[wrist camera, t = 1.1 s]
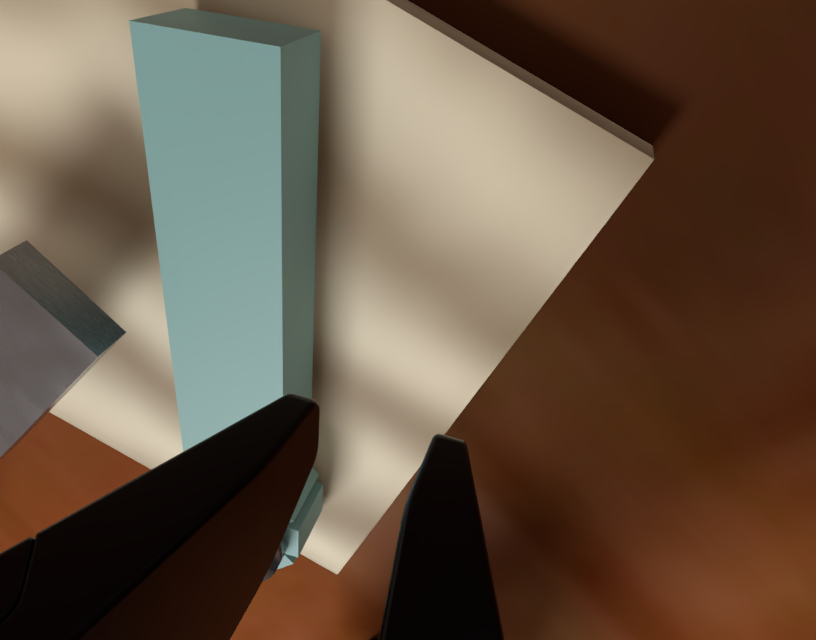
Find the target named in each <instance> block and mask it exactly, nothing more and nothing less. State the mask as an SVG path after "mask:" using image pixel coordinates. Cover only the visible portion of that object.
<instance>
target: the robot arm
mask: <svg viewBox="0 0 816 640" xmlns="http://www.w3.org/2000/svg"><path fill="white" fill-rule="evenodd" d="M319 418H320V408H319V404H318V402H317V401H316V400H314V399H311V398H307V397H303V396H300V395H296V394H287V395H284V396H282V397H280V398H279V399H277V400H275V401H273V402H272V403H270V404H268V405H266V406H264V407H263V408H261V409H259V410H257V411H255V412H254V413H252V414H250V415H248V416H246V417H245V418H243V419H241V420H239V421H237V422H236V423H234V424H232V425H230V426H228V427H227V428H225V429H223V430H221V431H219V432H218V433H216V434H214V435H212V436H211V437H209V438H207V439H205V440H203V441H202V442H200V443H198V444H196V445H194V446H193V447H191V448H189V449H187V450H185V451H184V452H182V453H180V454H178V455H176V456H175V457H173V458H171V459H169V460H167V461H166V462H164V463H162V464H160V465H159V466H157V467H155V468H153V469H151V470H150V471H148V472H146V473H144V474H142V475H141V476H139V477H137V478H135V479H133V480H132V481H130V482H128V483H126V484H124V485H123V486H121V487H119V488H117V489H115V490H114V491H112V492H110V493H108V494H106V495H105V496H103V497H101V498H99V499H98V500H96V501H94V502H92V503H90V504H89V505H87V506H85V507H83V508H81V509H80V510H78V511H76V512H74V513H72V514H71V515H69V516H67V517H65V518H63V519H62V520H60V521H58V522H56V523H54V524H53V525H51V526H49V527H47V528H45V529H44V530H42V531H40V532H38V533H37V535H36V537H35V539H34V538H32V537H30V538H27V539H25V540H23V541H22V542H20V543H18V544H16V545H15V546H13V547H11V548H9V549H7V550H6V551H4V552H2V553H0V640H230V638H231V636H232V635H233V633H234V631H235V629H236V628H237V626H238V624H239V622H240V620H241V619H242V617H243V615H244V613H245V612H246V610H247V608H248V606H249V604H250V603H251V601H252V599H253V597H254V596H255V594H256V592H257V590H258V588H259V587H260V585H261V583H262V581H263V579H264V577H265V576H266V574H267V572H268V570H269V568H270V566H271V564H272V562H273V559H274V557H275V555H276V553H277V550H278V548H279V546H280V543H281V541H282V539H283V536H284V534H285V532H286V529H287V527H288V524H289V522H290V520H291V517H292V515H293V513H294V510H295V508H296V505H297V503H298V501H299V498H300V496H301V494H302V491H303V489H304V486H305V484H306V482H307V479H308V477H309V475H310V472H311V470H312V467H313V465H314V462H315V459H316V456H317V452H318V445H319ZM375 640H376V639H375ZM379 640H504V635H503V630H502V625H501V620H500V615H499V609H498V604H497V599H496V594H495V589H494V583H493V578H492V573H491V568H490V563H489V558H488V552H487V547H486V542H485V537H484V532H483V526H482V521H481V516H480V511H479V506H478V500H477V495H476V490H475V485H474V480H473V474H472V469H471V464H470V459H469V454H468V448H467V445H466V443H465V442H464V441H463V440H461V439H457V438H454V437H450V436H446V435H443V434H435V435H434V436H433V438H432V440H431V442H430V445H429V447H428V450H427V452H426V454H425V457H424V459H423V462H422V464H421V466H420V469H419V471H418V474H417V476H416V478H415V481H414V483H413V486H412V488H411V490H410V493H409V496H408V499H407V501H406V504H405V508H404V512H403V516H402V521H401V526H400V531H399V536H398V542H397V547H396V552H395V557H394V562H393V568H392V573H391V578H390V583H389V589H388V594H387V599H386V604H385V609H384V615H383V620H382V625H381V630H380V635H379Z"/></svg>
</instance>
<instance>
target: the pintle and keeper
mask: <svg viewBox="0 0 816 640" xmlns="http://www.w3.org/2000/svg"><path fill="white" fill-rule="evenodd" d="M125 333H126V331H125V330H124V329H122V328H121V327H120V326H119V325H118V324H117V323H116V322H115V321H114V320H113V319H112V318H111V317H109V316H108V315H107V314H106V313H105V312H104V311H103V310H102V309H101V308H100V307H99V306H98V305H96V304H95V303H94V302H93V301H92V300H91V299H90V298H89V297H88V296H87V295H86V294H85V293H83V292H82V291H81V290H80V289H79V288H78V287H77V286H76V285H75V284H74V283H73V282H71V281H70V280H69V279H68V278H67V277H66V276H65V275H64V274H63V273H62V272H61V271H60V270H58V269H57V268H56V267H55V266H54V265H53V264H52V263H51V262H50V261H49V260H48V259H47V258H45V257H44V256H43V255H42V254H41V253H40V252H39V251H38V250H37V249H36V248H35V247H34V246H32V245H31V244H30V243H29V242H28V241H27V240H26V241H24V242H22V243H21V244H19V245H17V246H15V247H13V248H12V249H10V250H8V251H6V252H4V253H3V254H1V255H0V459H1V458H2V457H3V456H4V455H5V454H6V453H8V452H9V451H10V450H11V449H12V448H13V447H14V446H16V445H17V444H18V443H19V442H20V441H21V440H22V439H23V438H24V437H25V436H26V435H27V434H28V433H29V432H30V431H31V430H32V429H33V428H34V427H35V426H36V425H37V424H38V422H39V421H40V420H41V419H42V418H43V417H44V416H45V415H46V414H47V413H48V412H49V411H50V410H51V409H52V408H53V407H54V406H55V405H56V404H57V403H58V402H59V401H60V400H61V399H62V398H63V397H64V396H65V395H66V394H67V393H68V392H69V391H70V390H71V389H72V388H73V387H74V386H75V385H76V384H77V383H78V382H79V380H80V379H81V378H82V377H83V376H84V375H85V374H86V373H87V372H88V371H89V370H90V369H91V368H92V367H93V366H94V365H95V364H96V363H97V362H98V361H99V360H100V359H101V358H102V357H103V356H104V355H105V354H106V353H107V352H108V351H109V350H110V349H111V348H112V347H113V346H114V345H115V344H116V343H117V342H118V341H119V339H120V338H121V337H122V336H123V335H124V334H125ZM284 554H285V542H284V538H283V539H282V541H281V543H280V546H279V548H278V550H277V553H276V555H275V557H274V559H273V562H272V564H271V566H270V568H269V570H268V572H267V574H266V576H265V577H264V579H263V581H264V580H266V579H268V578H270V577H271V576H272V575H273V574H274V573H275V572H276V570H277V568H278V566H279V565H280V563H281V561H282V559H283V557H284Z"/></svg>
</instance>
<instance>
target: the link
mask: <svg viewBox="0 0 816 640" xmlns="http://www.w3.org/2000/svg"><path fill="white" fill-rule="evenodd" d="M129 25H130V33H131V40H132V48H133V56H134V64H135V72H136V80H137V88H138V96H139V104H140V112H141V120H142V128H143V136H144V144H145V152H146V160H147V168H148V176H149V184H150V192H151V200H152V208H153V216H154V224H155V231H156V239H157V247H158V255H159V263H160V271H161V279H162V287H163V295H164V303H165V311H166V319H167V327H168V335H169V343H170V351H171V359H172V367H173V375H174V383H175V391H176V399H177V407H178V415H179V422H180V430H181V438H182V446H183V452H184V451H185V450H187V449H189V448H191V447H193V446H194V445H196V444H198V443H200V442H202V441H203V440H205V439H207V438H209V437H211V436H212V435H214V434H216V433H218V432H219V431H221V430H223V429H225V428H227V427H228V426H230V425H232V424H234V423H236V422H237V421H239V420H241V419H243V418H245V417H246V416H248V415H250V414H252V413H254V412H255V411H257V410H259V409H261V408H263V407H264V406H266V405H268V404H270V403H272V402H273V401H275V400H277V399H279V398H280V397H282V396H284V395H287V394H296V395H300V396H303V397H307V398H311V399H312V371H313V331H314V292H315V252H316V213H317V173H318V134H319V94H320V55H321V30H315V29H309V28H303V27H297V26H291V25H285V24H279V23H273V22H267V21H261V20H255V19H249V18H243V17H237V16H231V15H225V14H219V13H213V12H207V11H201V10H195V9H189V8H182V9H178V10H173V11H169V12H165V13H160V14H156V15H151V16H147V17H142V18H138V19H134V20H129ZM318 476H319V474H318V473H317V472H316V470H315V469H314V468H313V467H312V470H311V472H310V475H309V477H308V479H307V482H306V484H305V486H304V489H303V491H302V494H301V496H300V498H299V501H298V503H297V505H296V508H295V510H294V513H293V515H292V517H291V520H290V522H289V524H288V527H287V529H286V532H285V534H284V536H283V538H284V542H285V554H284V557H283V559H282V561H281V563H280V565H279V566H278V568H277V569H280V568H283V567H285V566H288V565H291V564H294V562H295V560H296V558H298V557H299V555H300V553H301V551H302V549H303V547H304V545H305V543H306V541H307V539H308V537H309V535H310V533H311V531H312V529H313V527H314V525H315V523H316V521H317V519H318V517H319V515H320V513H321V511H322V505H323V484H322V483H319V482H316V479H317V478H318Z"/></svg>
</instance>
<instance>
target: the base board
mask: <svg viewBox="0 0 816 640" xmlns="http://www.w3.org/2000/svg"><path fill="white" fill-rule="evenodd" d="M182 8H189V9H195V10H201V11H207V12H213V13H219V14H225V15H231V16H237V17H243V18H249V19H255V20H261V21H267V22H273V23H279V24H285V25H291V26H297V27H303V28H309V29H315V30H321V55H320V94H319V134H318V173H317V213H316V252H315V292H314V331H313V371H312V399H314V400H316V401H317V402H318V404H319V408H320V418H319V445H318V452H317V456H316V459H315V462H314V465H313V468H314V469H315V470H316V472H317V473H318V474H319V476H318V478H317V479H316V482H319V483H322V484H323V505H322V511H321V513H320V515H319V517H318V519H317V521H316V523H315V525H314V527H313V529H312V531H311V533H310V535H309V537H308V539H307V541H306V543H305V545H304V547H303V549H302V551H301V553H300V554H302V555H304V556H305V557H307V558H309V559H311V560H312V561H314V562H316V563H318V564H320V565H321V566H323V567H325V568H327V569H328V570H330V571H332V572H334V573H335V574H338V573H339V572H340V571H341V569H342V568H343V567H344V565H345V564H346V563H347V561H348V560H349V559H350V557H351V556H352V555H353V554H354V552H355V551H356V550H357V548H358V547H359V546H360V544H361V543H362V542H363V540H364V539H365V538H366V536H367V535H368V534H369V533H370V531H371V530H372V529H373V527H374V526H375V525H376V523H377V522H378V521H379V519H380V518H381V517H382V516H383V514H384V513H385V512H386V510H387V509H388V508H389V506H390V505H391V504H392V502H393V501H394V500H395V498H396V497H397V496H398V495H399V493H400V492H401V491H402V489H403V488H404V487H405V485H406V484H407V483H408V481H409V480H410V479H411V478H412V476H413V475H414V474H415V472H416V471H417V470H418V468H419V467H420V466H421V464H422V462H423V459H424V457H425V454H426V452H427V450H428V447H429V445H430V442H431V440H432V438H433V436H434V435H435V434H443V435H444V434H445V433H446V432H447V430H448V429H449V428H450V426H451V425H452V424H453V423H454V421H455V420H456V419H457V417H458V416H459V415H460V413H461V412H462V411H463V409H464V408H465V407H466V405H467V404H468V403H469V402H470V400H471V399H472V398H473V396H474V395H475V394H476V392H477V391H478V390H479V388H480V387H481V386H482V385H483V383H484V382H485V381H486V379H487V378H488V377H489V375H490V374H491V373H492V371H493V370H494V369H495V367H496V366H497V365H498V364H499V362H500V361H501V360H502V358H503V357H504V356H505V354H506V353H507V352H508V350H509V349H510V348H511V347H512V345H513V344H514V343H515V341H516V340H517V339H518V337H519V336H520V335H521V333H522V332H523V331H524V329H525V328H526V327H527V326H528V324H529V323H530V322H531V320H532V319H533V318H534V316H535V315H536V314H537V312H538V311H539V310H540V309H541V307H542V306H543V305H544V303H545V302H546V301H547V299H548V298H549V297H550V295H551V294H552V293H553V291H554V290H555V289H556V288H557V286H558V285H559V284H560V282H561V281H562V280H563V278H564V277H565V276H566V274H567V273H568V272H569V271H570V269H571V268H572V267H573V265H574V264H575V263H576V261H577V260H578V259H579V257H580V256H581V255H582V253H583V252H584V251H585V250H586V248H587V247H588V246H589V244H590V243H591V242H592V240H593V239H594V238H595V236H596V235H597V234H598V233H599V231H600V230H601V229H602V227H603V226H604V225H605V223H606V222H607V221H608V219H609V218H610V217H611V215H612V214H613V213H614V212H615V210H616V209H617V208H618V206H619V205H620V204H621V202H622V201H623V200H624V198H625V197H626V196H627V195H628V193H629V192H630V191H631V189H632V188H633V187H634V185H635V184H636V183H637V181H638V180H639V179H640V177H641V176H642V175H643V174H644V172H645V171H646V170H647V168H648V167H649V166H650V164H651V163H652V162H653V160H654V152H653V146H652V145H651V144H649V143H647V142H646V141H644V140H642V139H640V138H639V137H637V136H635V135H634V134H632V133H630V132H629V131H627V130H625V129H624V128H622V127H620V126H619V125H617V124H615V123H614V122H612V121H610V120H609V119H607V118H605V117H603V116H602V115H600V114H598V113H597V112H595V111H593V110H592V109H590V108H588V107H587V106H585V105H583V104H582V103H580V102H578V101H577V100H575V99H573V98H572V97H570V96H568V95H566V94H565V93H563V92H561V91H560V90H558V89H556V88H555V87H553V86H551V85H550V84H548V83H546V82H545V81H543V80H541V79H540V78H538V77H536V76H535V75H533V74H531V73H530V72H528V71H526V70H524V69H523V68H521V67H519V66H518V65H516V64H514V63H513V62H511V61H509V60H508V59H506V58H504V57H503V56H501V55H499V54H498V53H496V52H494V51H493V50H491V49H489V48H487V47H486V46H484V45H482V44H481V43H479V42H477V41H476V40H474V39H472V38H471V37H469V36H467V35H466V34H464V33H462V32H461V31H459V30H457V29H456V28H454V27H452V26H451V25H449V24H447V23H445V22H444V21H442V20H440V19H439V18H437V17H435V16H434V15H432V14H430V13H429V12H427V11H425V10H424V9H422V8H420V7H419V6H417V5H415V4H414V3H412V2H410V1H408V0H0V255H1V254H3V253H4V252H6V251H8V250H10V249H12V248H13V247H15V246H17V245H19V244H21V243H22V242H24V241H26V240H27V241H28V242H29V243H30V244H31V245H32V246H34V247H35V248H36V249H37V250H38V251H39V252H40V253H41V254H42V255H43V256H44V257H45V258H47V259H48V260H49V261H50V262H51V263H52V264H53V265H54V266H55V267H56V268H57V269H58V270H60V271H61V272H62V273H63V274H64V275H65V276H66V277H67V278H68V279H69V280H70V281H71V282H73V283H74V284H75V285H76V286H77V287H78V288H79V289H80V290H81V291H82V292H83V293H85V294H86V295H87V296H88V297H89V298H90V299H91V300H92V301H93V302H94V303H95V304H96V305H98V306H99V307H100V308H101V309H102V310H103V311H104V312H105V313H106V314H107V315H108V316H109V317H111V318H112V319H113V320H114V321H115V322H116V323H117V324H118V325H119V326H120V327H121V328H122V329H124V330H125V331H126V333H125V334H124V335H123V336H122V337H121V338H120V339H119V341H118V342H117V343H116V344H115V345H114V346H113V347H112V348H111V349H110V350H109V351H108V352H107V353H106V354H105V355H104V356H103V357H102V358H101V359H100V360H99V361H98V362H97V363H96V364H95V365H94V366H93V367H92V368H91V369H90V370H89V371H88V372H87V373H86V374H85V375H84V376H83V377H82V378H81V379H80V380H79V382H78V383H77V384H76V385H75V386H74V387H73V388H72V389H71V390H70V391H69V392H68V393H67V394H66V395H65V396H64V397H63V398H62V399H61V400H60V401H59V402H58V403H57V404H56V405H55V406H54V407H53V408H52V409H51V410H50V411H49V412H50V413H52V414H54V415H56V416H58V417H59V418H61V419H63V420H65V421H66V422H68V423H70V424H72V425H73V426H75V427H77V428H79V429H81V430H82V431H84V432H86V433H88V434H89V435H91V436H93V437H95V438H97V439H98V440H100V441H102V442H104V443H105V444H107V445H109V446H111V447H112V448H114V449H116V450H118V451H120V452H121V453H123V454H125V455H127V456H128V457H130V458H132V459H134V460H135V461H137V462H139V463H141V464H143V465H144V466H146V467H148V468H150V469H153V468H155V467H157V466H159V465H160V464H162V463H164V462H166V461H167V460H169V459H171V458H173V457H175V456H176V455H178V454H180V453H182V452H183V446H182V438H181V430H180V422H179V415H178V407H177V399H176V391H175V383H174V375H173V367H172V359H171V351H170V343H169V335H168V327H167V319H166V311H165V303H164V295H163V287H162V279H161V271H160V263H159V255H158V247H157V239H156V231H155V224H154V216H153V208H152V200H151V192H150V184H149V176H148V168H147V160H146V152H145V144H144V136H143V128H142V120H141V112H140V104H139V96H138V88H137V80H136V72H135V64H134V56H133V48H132V40H131V33H130V25H129V20H134V19H138V18H142V17H147V16H151V15H156V14H160V13H165V12H169V11H173V10H178V9H182Z"/></svg>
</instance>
